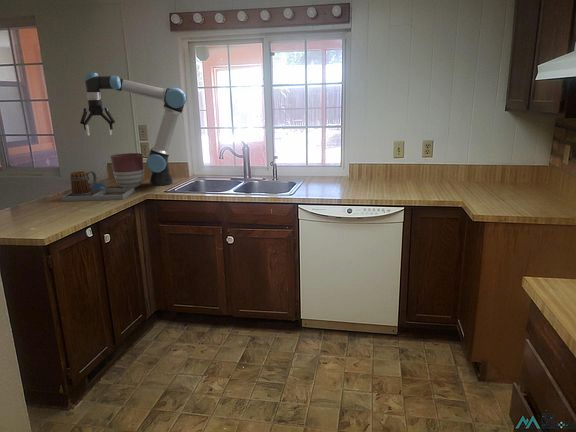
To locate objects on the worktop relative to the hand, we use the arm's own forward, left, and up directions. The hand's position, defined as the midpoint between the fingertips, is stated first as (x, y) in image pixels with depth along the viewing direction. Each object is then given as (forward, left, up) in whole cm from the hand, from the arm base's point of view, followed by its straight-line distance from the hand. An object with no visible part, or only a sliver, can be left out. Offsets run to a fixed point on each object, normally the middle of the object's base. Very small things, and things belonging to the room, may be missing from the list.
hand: (99, 135), depth 263 cm
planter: (-13, -6, -35) cm, 38 cm away
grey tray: (-2, +17, -35) cm, 39 cm away
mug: (+6, +17, -35) cm, 39 cm away
